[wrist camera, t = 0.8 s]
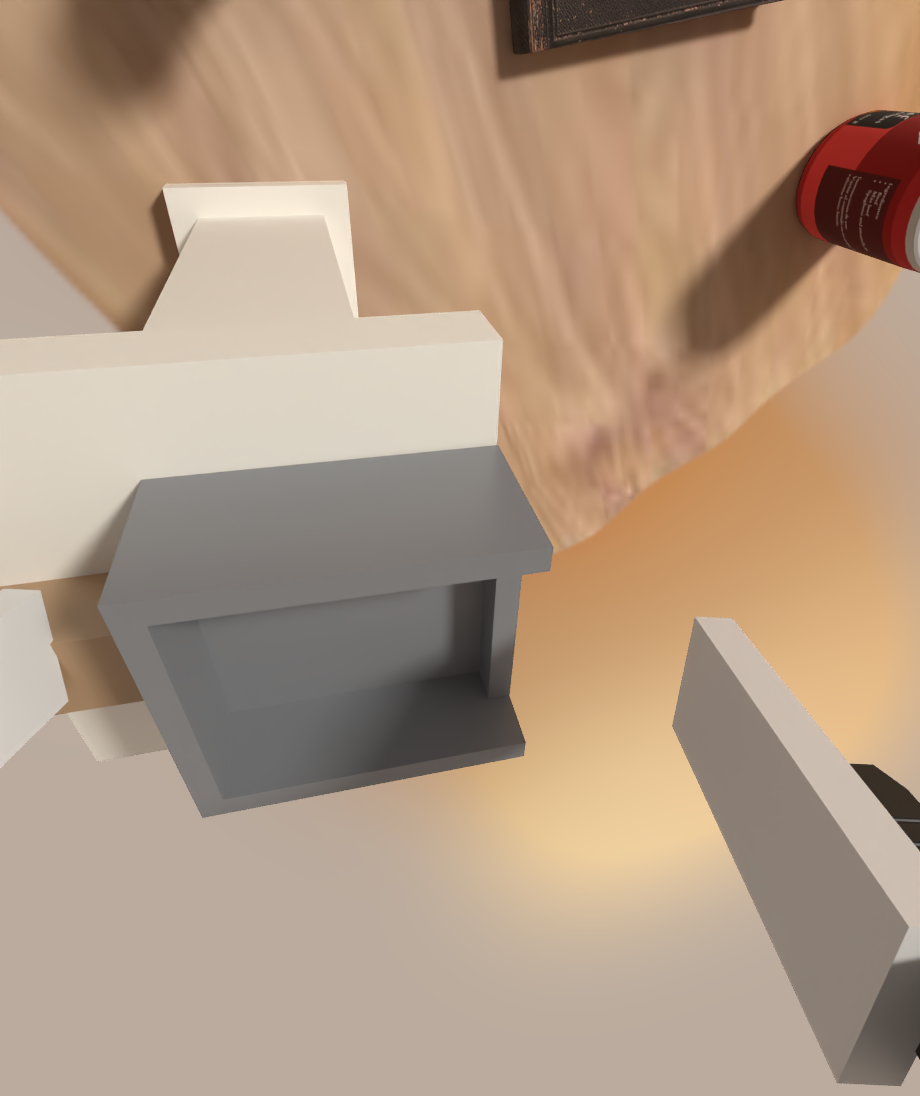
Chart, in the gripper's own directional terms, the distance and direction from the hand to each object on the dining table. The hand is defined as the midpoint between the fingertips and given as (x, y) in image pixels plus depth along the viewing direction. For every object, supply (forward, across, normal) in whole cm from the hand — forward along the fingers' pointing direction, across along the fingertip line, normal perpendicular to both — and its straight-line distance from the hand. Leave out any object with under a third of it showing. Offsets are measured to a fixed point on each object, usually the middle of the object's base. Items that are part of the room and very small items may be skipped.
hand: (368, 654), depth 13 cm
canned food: (+40, +28, +16) cm, 51 cm away
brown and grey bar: (+2, -8, 0) cm, 8 cm away
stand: (+31, -11, +8) cm, 34 cm away
